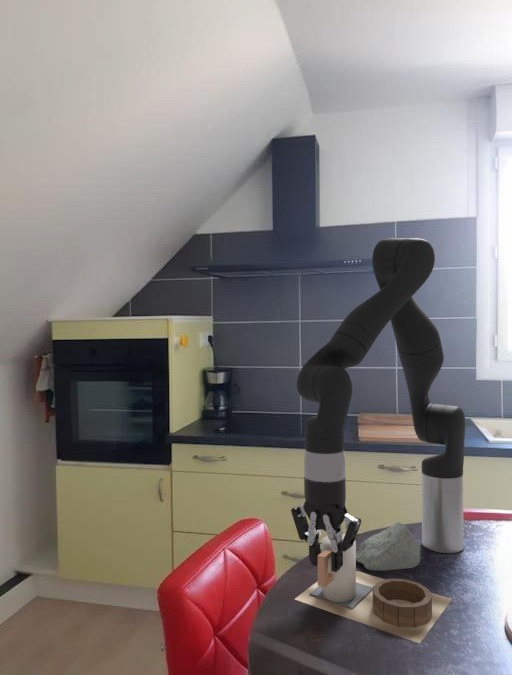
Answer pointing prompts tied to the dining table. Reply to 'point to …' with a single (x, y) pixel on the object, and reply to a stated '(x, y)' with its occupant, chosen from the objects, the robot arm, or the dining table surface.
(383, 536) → the decorative stone
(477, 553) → the dining table surface
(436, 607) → the serving board
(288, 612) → the dining table surface
